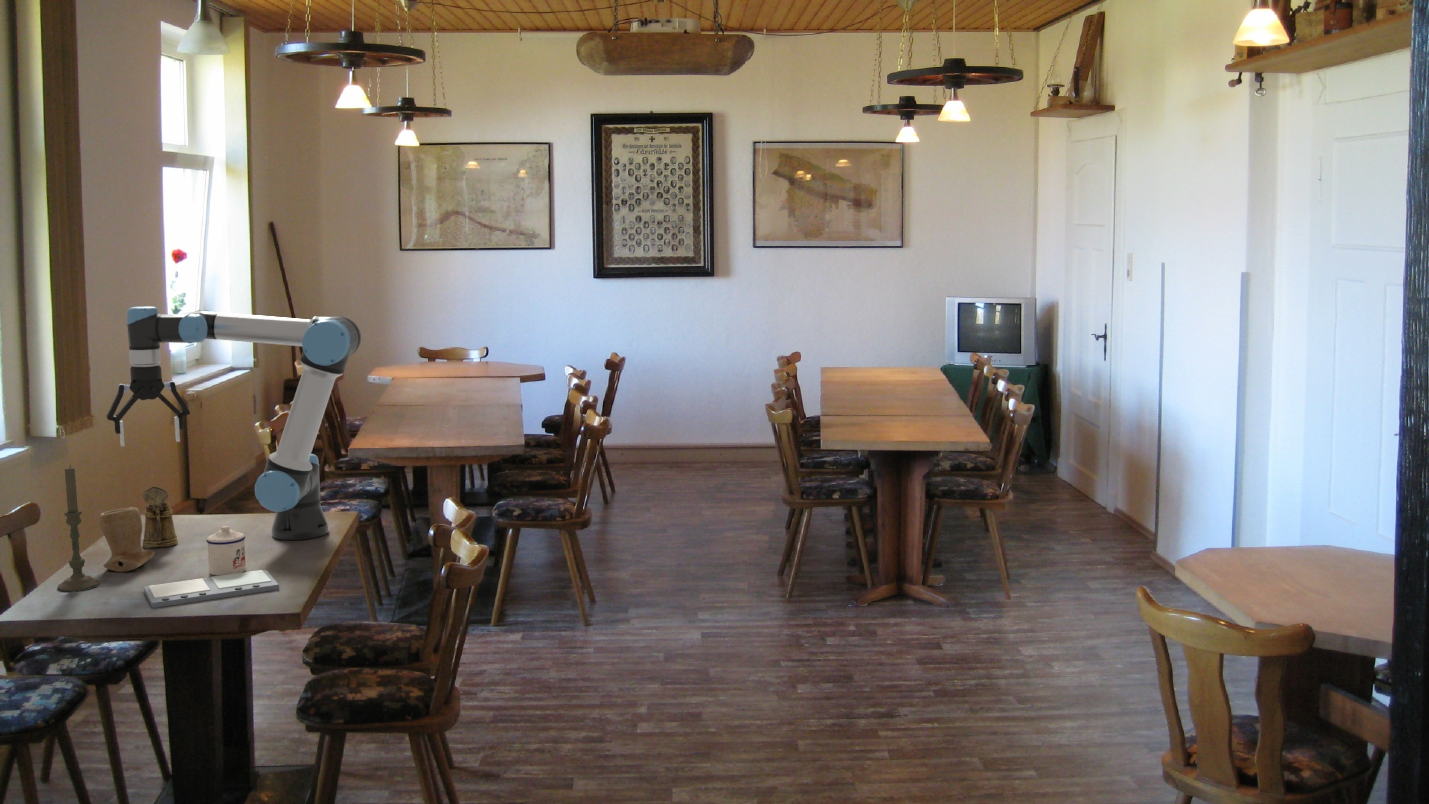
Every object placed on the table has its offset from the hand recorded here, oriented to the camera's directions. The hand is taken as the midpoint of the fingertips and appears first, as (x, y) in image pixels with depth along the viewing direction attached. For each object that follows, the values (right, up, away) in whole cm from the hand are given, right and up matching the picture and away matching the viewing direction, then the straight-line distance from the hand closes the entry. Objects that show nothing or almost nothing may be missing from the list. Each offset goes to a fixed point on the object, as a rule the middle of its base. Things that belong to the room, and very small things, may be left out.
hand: (150, 443), depth 331 cm
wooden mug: (0, -28, +5) cm, 29 cm away
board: (+31, -34, -35) cm, 58 cm away
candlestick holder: (-3, -34, -32) cm, 46 cm away
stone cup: (0, -31, -13) cm, 34 cm away
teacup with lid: (+28, -32, -17) cm, 46 cm away
